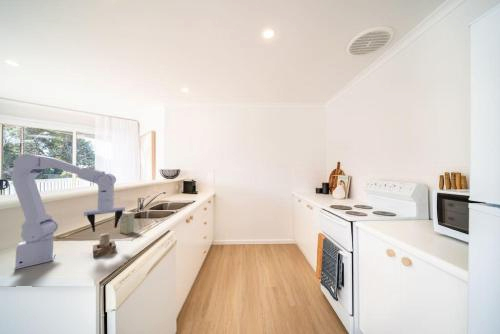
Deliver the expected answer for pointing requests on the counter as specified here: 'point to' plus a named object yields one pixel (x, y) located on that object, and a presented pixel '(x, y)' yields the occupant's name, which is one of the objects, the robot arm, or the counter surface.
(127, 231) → the skincare box
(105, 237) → the beech peg
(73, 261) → the counter surface
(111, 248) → the walnut holder
